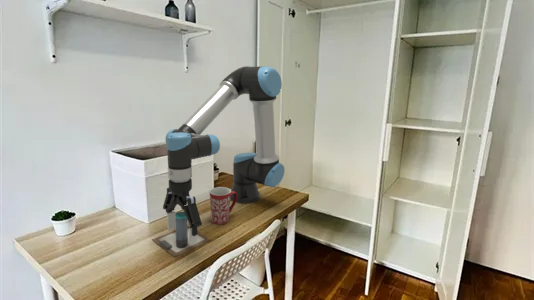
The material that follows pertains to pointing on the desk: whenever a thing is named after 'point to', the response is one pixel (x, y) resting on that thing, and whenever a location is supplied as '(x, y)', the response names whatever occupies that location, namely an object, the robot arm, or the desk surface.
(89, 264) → the desk surface
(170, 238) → the clipboard
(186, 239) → the grey cylinder
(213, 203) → the mug
